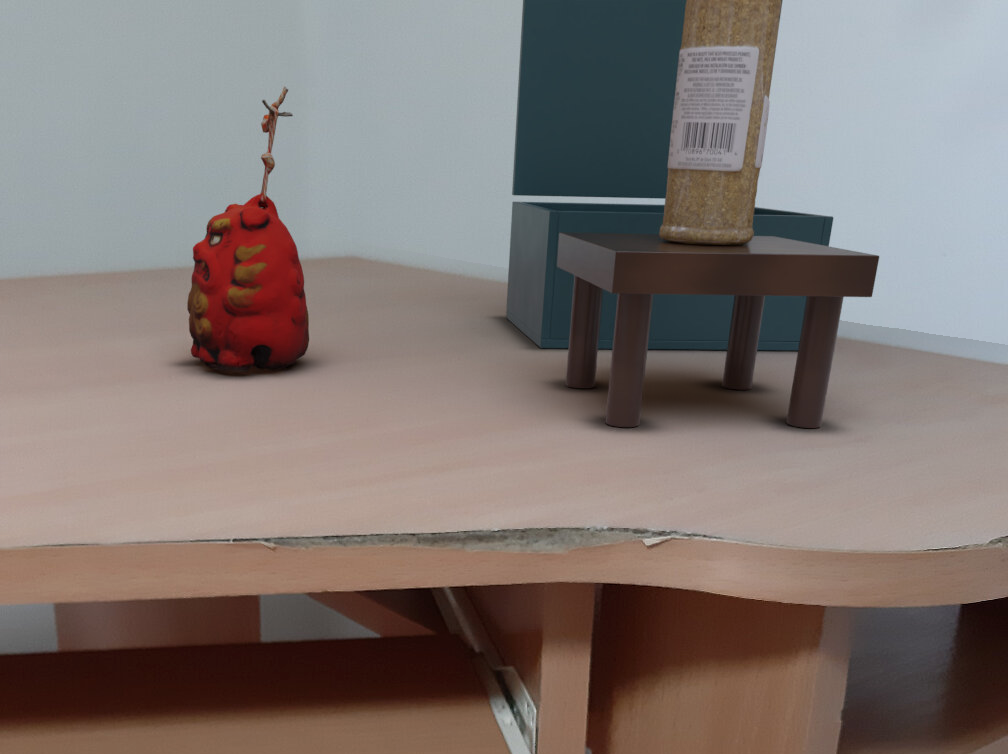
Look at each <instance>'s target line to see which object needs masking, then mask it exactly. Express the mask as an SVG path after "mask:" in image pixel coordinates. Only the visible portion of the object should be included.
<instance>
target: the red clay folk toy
mask: <svg viewBox="0 0 1008 754" xmlns="http://www.w3.org/2000/svg"><path fill="white" fill-rule="evenodd" d="M288 92H289V88H287V87H286V86H283V88H282V91H281V93H280V95H279V96H278V99H277V100H276V101H275V102H273V103H271V105H269V104H268V102H267V101H266V99H262V100H261V102H262V104H263V105H264V107H265V108H266V109H267V110H268V114H265V115H264V116H263V118H262V121H261V123H260V125H261V130H262V133H265V134H268V140H267V141H268V143H267V145H268V146H267V151H266V152H265V153H263V154H261V156H260V159H261V161H262V163H263V165H264V173H263V178H262V184H261V190H260V193H259V194H256V195H254V196H252V197H251V198H250V199H249V200H248V201H246V202H245V203H244V204H238V203H232V204H228V206H226V208H225V210H224V212H222V213H219V214H215V215H213V216H212V217H211V218H210V219H209V220H208V221H207V225H206V234H205V235H204V238H203V240H201V241H199V242H197V243H195V244H194V245H193V247H192V260H193V262H194V266H193V272H192V274H191V287H190V291H189V293H188V295H187V301H186V302H187V303H186V305H187V306H186V307H187V309H186V310H187V312H188V314H189V317H188V333H189V334H190V338H191V339H192V345H191V347H190V355H191V356H192V357H193V358H196V359H199V361H200V363H203V364H204V365H205V366H206V367H208V368H210V369H212V370H216V371H225V372H236V373H247V372H248V371H249V370H250V369H251V368H254V367H255V368H256V369H257V370H270V371H278V370H284V369H285V368H288V367H289V366H291V365H293V364H294V363H295V362H296V361H297V360H298V359H301V358H302V357H304V356H305V355H306V353H307V350H308V348H309V343H310V330H309V328H310V326H309V325H310V323H309V322H310V321H309V311H308V306H307V297H306V291H305V278H304V272H303V266H302V263H301V260H300V258H299V251H298V248H297V244H296V242H295V241H294V238H293V237H292V235H291V233H290V231H289V229H288V227H287V225H285V224H284V222H283V221H282V219H280V216H279V213H278V210H277V207H276V204H275V202H274V201H273V200H272V199H271V198H270V197H269V196H268V195H267V192H268V191H267V190H268V182H269V175H270V174H271V173H272V172H273V170H274V168H275V166H276V162H275V159H274V156H273V154H272V150H273V145H274V140H275V136H276V129H277V123H278V118H279V117H287V118H288V117H293V116H294V115H293V113H291V112H288V111H283V112H279V111H280V110H279V107H280V106H281V105H282V104H283V103H284V101H285V98H286V95H287V93H288Z"/></svg>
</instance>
